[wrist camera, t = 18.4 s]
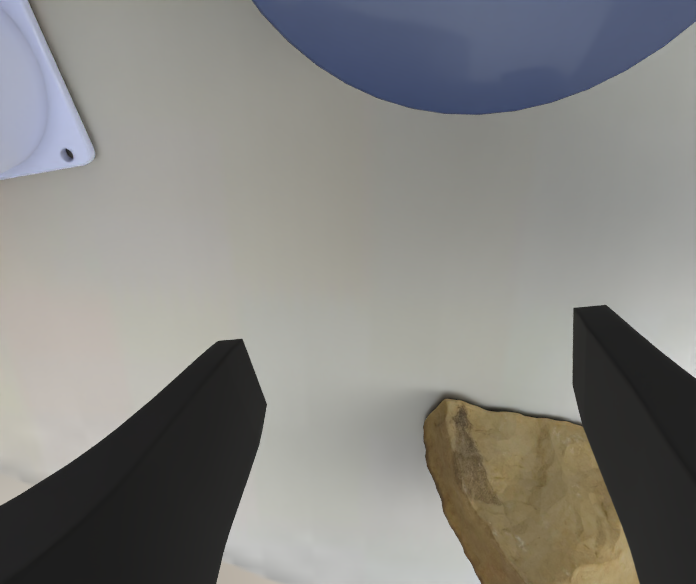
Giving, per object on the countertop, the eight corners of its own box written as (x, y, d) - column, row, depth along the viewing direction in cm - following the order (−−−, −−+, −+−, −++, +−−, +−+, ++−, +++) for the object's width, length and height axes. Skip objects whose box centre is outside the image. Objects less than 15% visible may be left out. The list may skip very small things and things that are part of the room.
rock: (358, 463, 26) (475, 595, 28) (440, 556, 18) (595, 730, 20) (512, 314, 28) (609, 447, 30) (648, 335, 20) (767, 516, 22)
